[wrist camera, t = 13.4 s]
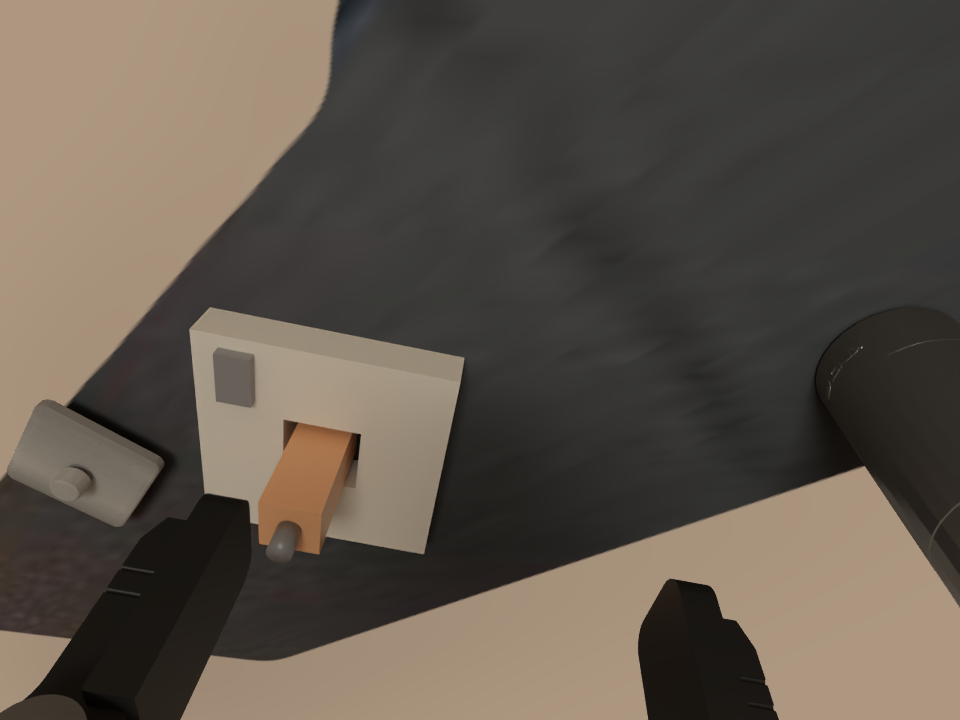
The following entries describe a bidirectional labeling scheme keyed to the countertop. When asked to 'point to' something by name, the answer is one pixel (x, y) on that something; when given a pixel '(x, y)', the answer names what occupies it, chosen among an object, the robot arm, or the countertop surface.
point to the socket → (325, 417)
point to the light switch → (83, 464)
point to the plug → (304, 491)
